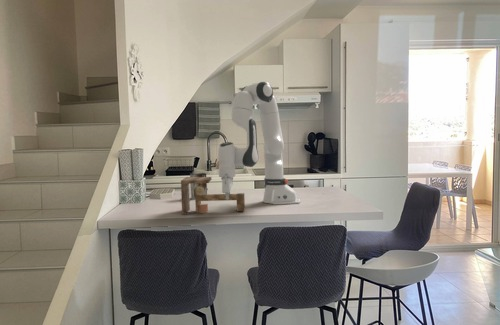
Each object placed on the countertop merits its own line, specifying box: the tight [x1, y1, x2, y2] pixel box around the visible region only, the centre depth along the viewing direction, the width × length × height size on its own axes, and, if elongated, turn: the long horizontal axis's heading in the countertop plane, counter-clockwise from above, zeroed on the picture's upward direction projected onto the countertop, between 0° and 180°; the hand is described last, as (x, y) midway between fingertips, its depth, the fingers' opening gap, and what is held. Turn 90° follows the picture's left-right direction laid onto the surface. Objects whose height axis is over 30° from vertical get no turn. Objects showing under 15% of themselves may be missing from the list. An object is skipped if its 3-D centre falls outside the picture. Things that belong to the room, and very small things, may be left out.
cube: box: [198, 203, 209, 214], centre depth 216 cm, size 4×4×4 cm
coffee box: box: [189, 172, 208, 200], centre depth 258 cm, size 9×6×16 cm
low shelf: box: [180, 176, 212, 216], centre depth 216 cm, size 14×14×18 cm
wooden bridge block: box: [194, 192, 246, 213], centre depth 216 cm, size 26×9×8 cm, turn 88°
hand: (227, 198), depth 215 cm, fingers closed on wooden bridge block, 2 cm apart
